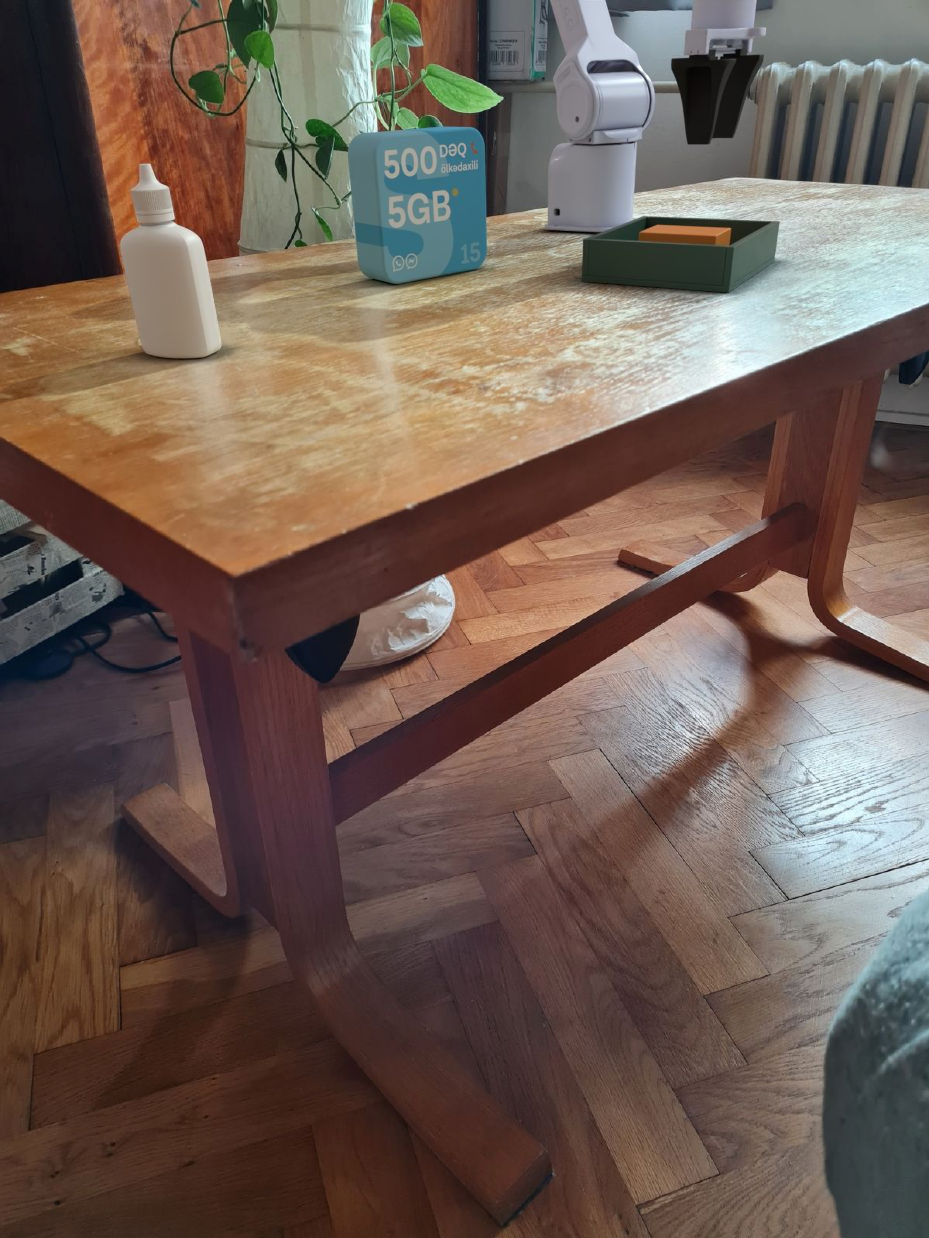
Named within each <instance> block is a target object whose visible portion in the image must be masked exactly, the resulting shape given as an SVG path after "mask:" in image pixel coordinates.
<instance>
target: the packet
mask: <svg viewBox="0 0 929 1238" xmlns="http://www.w3.org/2000/svg"><path fill="white" fill-rule="evenodd" d="M730 235H731V228H718V227H695V226H672V225H656V226H653V227H651V228H648V229H646V230H644V231H641V232H639V241H649V242H668V243H686V244H705V245H724V246H729V244H730Z"/></svg>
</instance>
